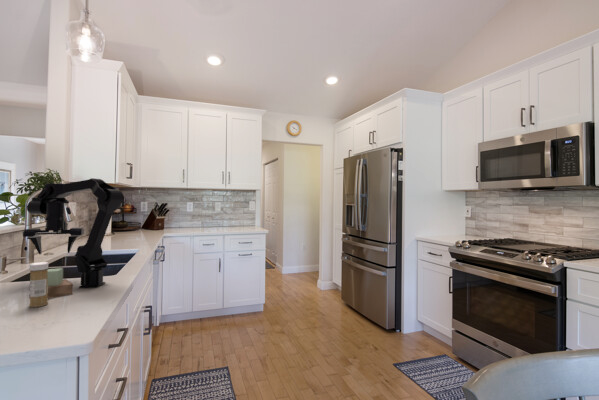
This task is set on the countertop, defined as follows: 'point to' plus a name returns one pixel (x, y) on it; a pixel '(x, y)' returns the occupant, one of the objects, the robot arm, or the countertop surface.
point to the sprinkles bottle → (38, 284)
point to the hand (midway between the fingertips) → (54, 253)
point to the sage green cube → (55, 276)
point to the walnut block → (60, 289)
